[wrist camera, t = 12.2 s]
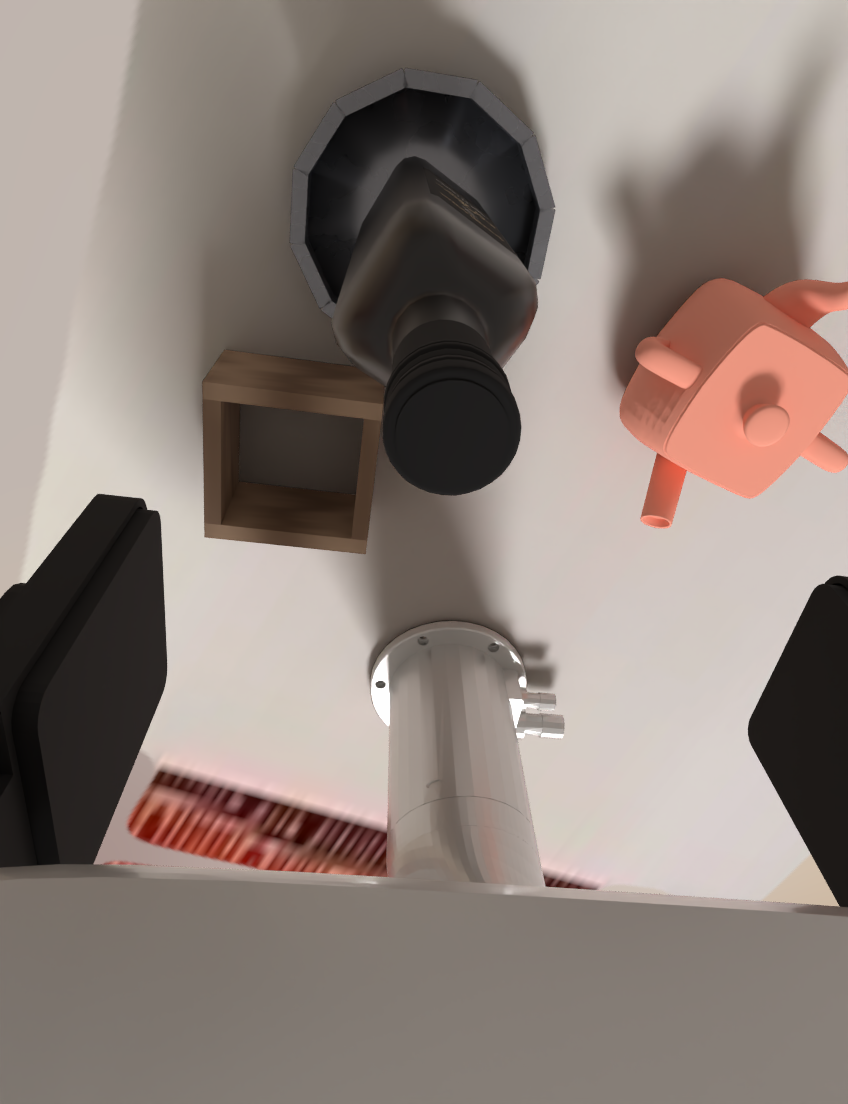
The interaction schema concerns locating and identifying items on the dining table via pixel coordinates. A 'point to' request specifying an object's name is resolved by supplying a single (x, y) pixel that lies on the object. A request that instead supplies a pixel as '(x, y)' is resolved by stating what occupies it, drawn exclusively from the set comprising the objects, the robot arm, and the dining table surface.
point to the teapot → (737, 390)
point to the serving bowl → (431, 134)
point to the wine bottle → (437, 328)
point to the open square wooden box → (278, 508)
